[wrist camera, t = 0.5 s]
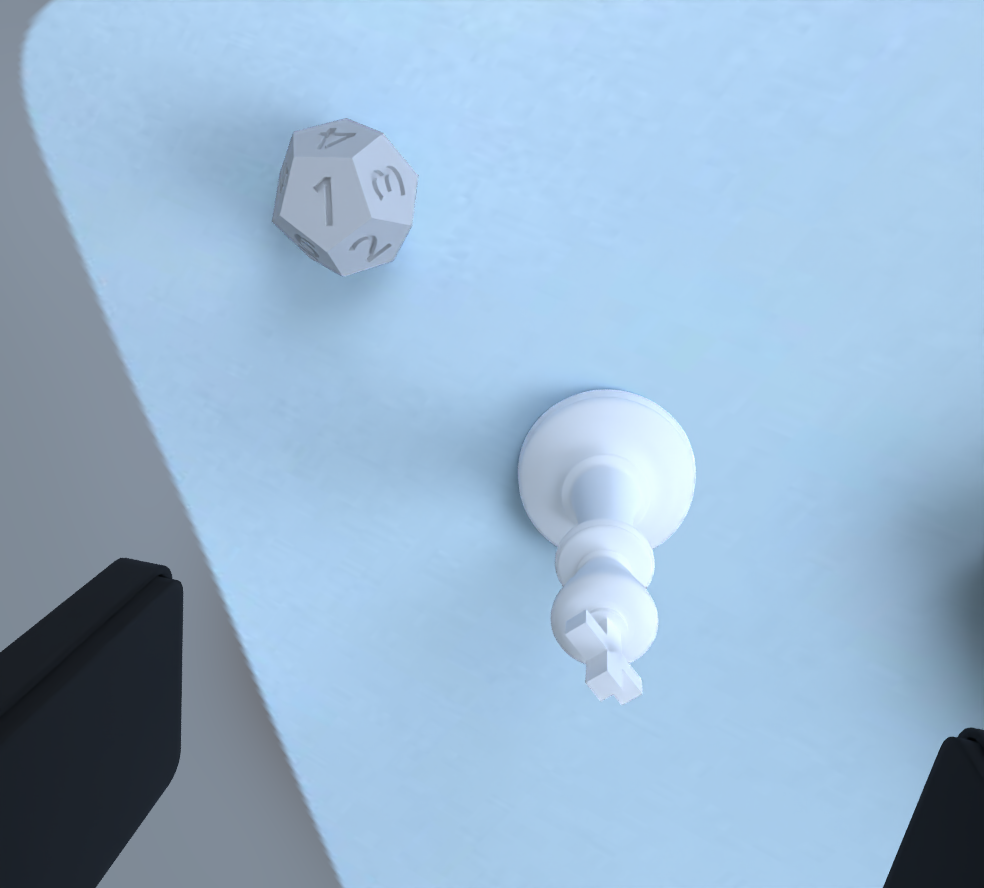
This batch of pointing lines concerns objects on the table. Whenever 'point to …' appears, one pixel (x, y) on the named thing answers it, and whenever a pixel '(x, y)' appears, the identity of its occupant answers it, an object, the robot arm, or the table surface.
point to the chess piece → (606, 522)
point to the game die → (345, 196)
